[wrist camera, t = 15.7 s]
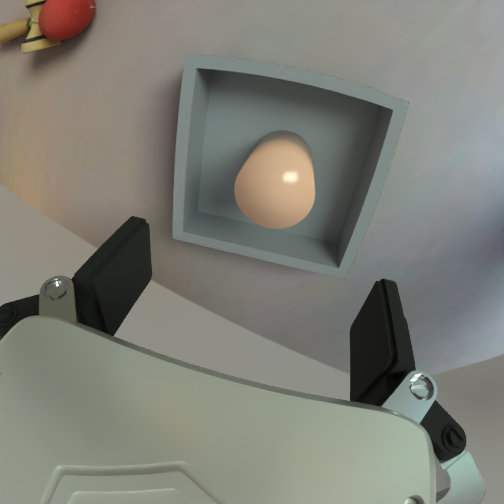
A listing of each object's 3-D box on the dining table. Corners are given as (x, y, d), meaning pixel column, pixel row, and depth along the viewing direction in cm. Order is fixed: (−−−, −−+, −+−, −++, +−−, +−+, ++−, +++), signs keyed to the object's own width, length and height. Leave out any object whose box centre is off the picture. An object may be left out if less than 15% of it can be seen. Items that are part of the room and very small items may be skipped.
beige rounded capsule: (319, 139, 23) (325, 167, 17) (303, 191, 26) (302, 237, 20) (260, 124, 23) (242, 145, 17) (248, 177, 26) (228, 217, 20)
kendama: (14, 62, 23) (94, 50, 21) (-22, 63, 18) (46, 43, 15) (28, 12, 20) (116, -16, 17) (-6, 9, 14) (73, -33, 12)
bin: (391, 96, 21) (409, 101, 16) (342, 248, 30) (345, 279, 26) (207, 56, 21) (185, 54, 17) (191, 213, 31) (172, 238, 27)
